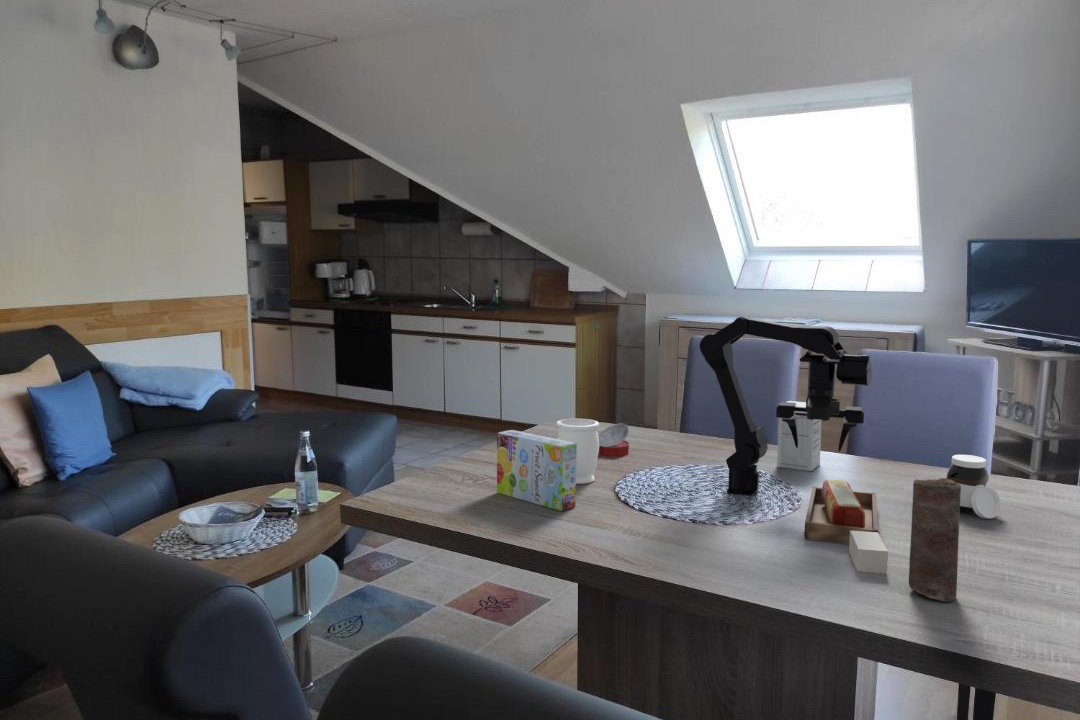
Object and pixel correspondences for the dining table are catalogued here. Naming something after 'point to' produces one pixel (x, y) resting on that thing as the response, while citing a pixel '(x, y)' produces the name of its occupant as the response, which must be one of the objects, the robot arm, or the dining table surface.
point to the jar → (582, 445)
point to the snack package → (842, 504)
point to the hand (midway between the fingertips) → (818, 449)
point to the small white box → (868, 552)
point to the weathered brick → (935, 538)
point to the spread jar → (974, 486)
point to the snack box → (537, 469)
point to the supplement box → (799, 443)
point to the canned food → (614, 441)
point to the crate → (823, 530)
